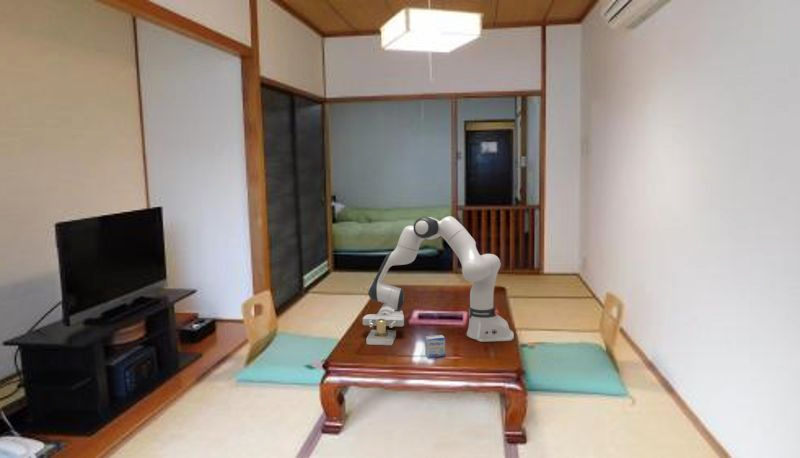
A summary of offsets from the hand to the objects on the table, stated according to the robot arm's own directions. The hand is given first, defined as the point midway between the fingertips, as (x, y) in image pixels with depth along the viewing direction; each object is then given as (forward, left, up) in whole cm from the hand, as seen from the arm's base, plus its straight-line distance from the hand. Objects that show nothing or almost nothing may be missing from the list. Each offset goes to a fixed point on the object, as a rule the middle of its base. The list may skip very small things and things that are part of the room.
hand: (380, 325), depth 260 cm
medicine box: (-27, +15, -8) cm, 32 cm away
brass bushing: (0, -1, -8) cm, 8 cm away
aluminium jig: (0, -1, -8) cm, 8 cm away
